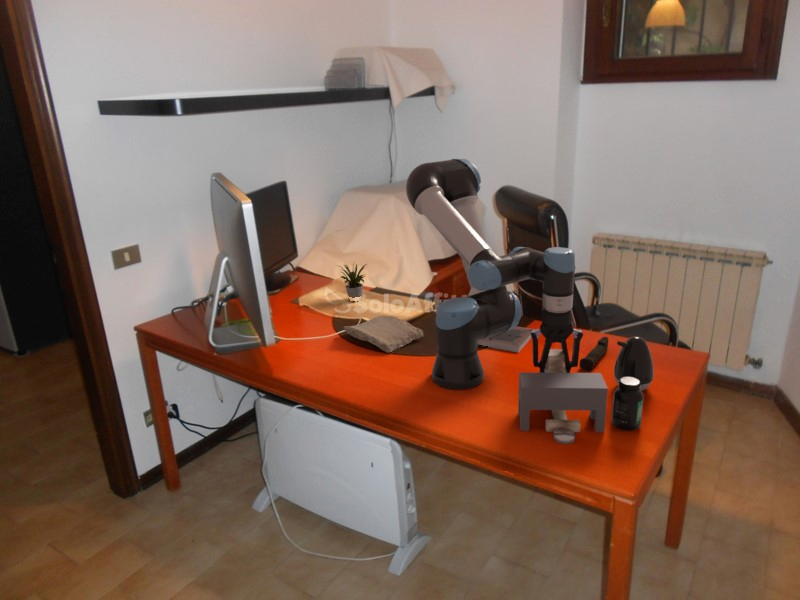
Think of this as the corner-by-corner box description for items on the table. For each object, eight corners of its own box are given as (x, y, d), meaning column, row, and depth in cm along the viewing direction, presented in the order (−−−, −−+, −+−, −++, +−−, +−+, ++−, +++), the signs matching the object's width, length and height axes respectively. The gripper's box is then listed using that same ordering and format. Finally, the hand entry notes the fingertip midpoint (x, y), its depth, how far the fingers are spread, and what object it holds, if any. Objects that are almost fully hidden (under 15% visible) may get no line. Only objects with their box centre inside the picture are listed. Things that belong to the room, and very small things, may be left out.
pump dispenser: (605, 380, 170) (609, 331, 165) (641, 377, 170) (646, 328, 165) (621, 398, 160) (625, 346, 155) (658, 394, 161) (664, 343, 156)
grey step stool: (520, 430, 148) (521, 387, 144) (518, 414, 155) (519, 372, 151) (604, 432, 145) (607, 388, 141) (597, 415, 153) (600, 373, 149)
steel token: (555, 444, 142) (555, 438, 141) (551, 432, 146) (552, 427, 146) (576, 444, 141) (577, 439, 141) (572, 432, 146) (573, 427, 145)
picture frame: (456, 343, 201) (518, 354, 190) (456, 336, 200) (518, 347, 189) (475, 325, 214) (534, 335, 204) (475, 319, 213) (535, 328, 203)
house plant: (330, 306, 239) (326, 266, 233) (339, 294, 251) (336, 257, 246) (365, 306, 236) (362, 266, 231) (372, 294, 249) (370, 257, 244)
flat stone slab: (381, 360, 192) (426, 337, 203) (377, 339, 189) (424, 317, 200) (338, 341, 210) (382, 321, 221) (334, 322, 207) (379, 302, 218)
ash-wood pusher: (546, 431, 147) (548, 382, 142) (537, 393, 165) (538, 348, 160) (579, 432, 146) (582, 382, 141) (567, 393, 164) (569, 348, 159)
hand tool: (591, 372, 175) (592, 358, 174) (578, 369, 178) (579, 355, 176) (615, 350, 189) (616, 336, 187) (602, 347, 191) (603, 334, 190)
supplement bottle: (645, 430, 145) (650, 386, 141) (618, 432, 145) (622, 388, 141) (632, 415, 152) (636, 373, 148) (606, 418, 151) (610, 375, 147)
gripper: (524, 313, 151) (522, 395, 159) (594, 313, 149) (589, 396, 157) (522, 303, 158) (520, 382, 166) (588, 302, 156) (583, 382, 164)
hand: (553, 389), depth 161 cm, fingers closed on ash-wood pusher, 4 cm apart
